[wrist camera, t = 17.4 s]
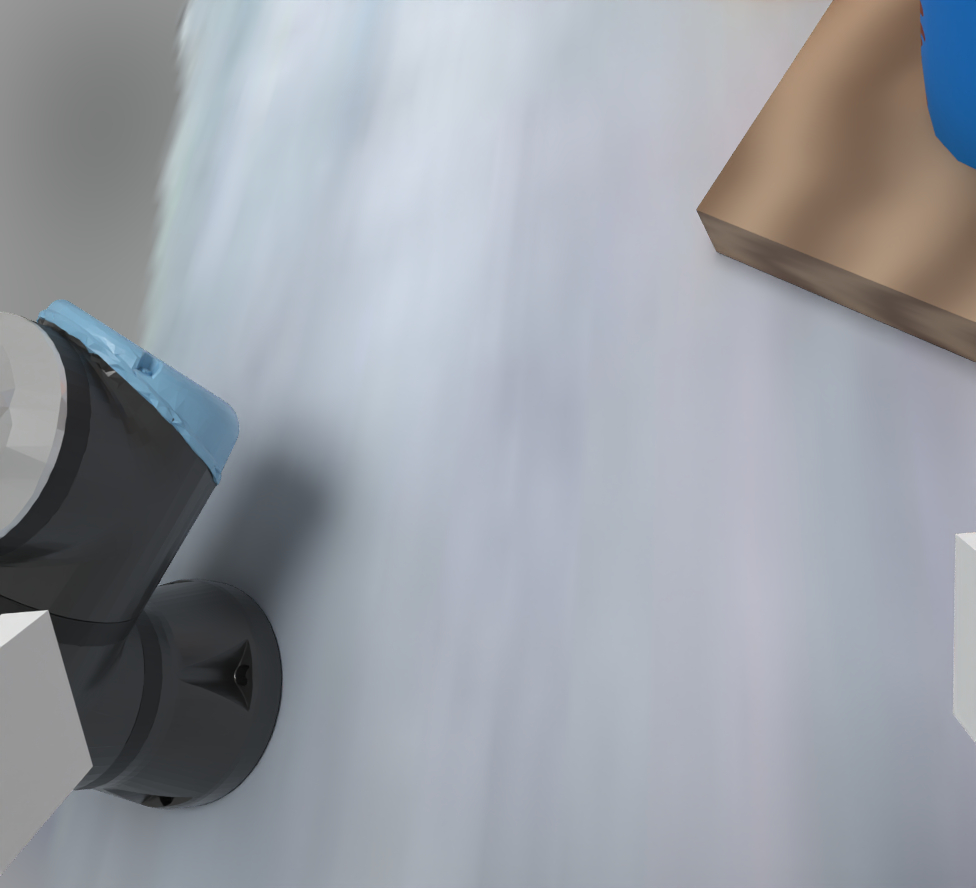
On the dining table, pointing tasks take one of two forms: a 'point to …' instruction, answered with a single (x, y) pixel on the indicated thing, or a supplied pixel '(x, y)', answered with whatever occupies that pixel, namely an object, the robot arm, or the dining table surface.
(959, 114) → the thermos
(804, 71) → the walnut riser
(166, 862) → the dining table surface
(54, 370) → the robot arm
